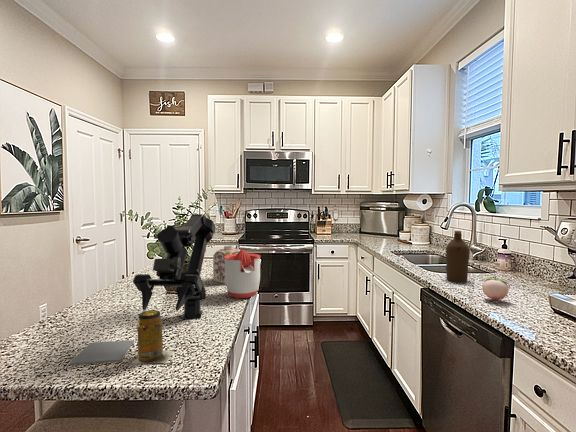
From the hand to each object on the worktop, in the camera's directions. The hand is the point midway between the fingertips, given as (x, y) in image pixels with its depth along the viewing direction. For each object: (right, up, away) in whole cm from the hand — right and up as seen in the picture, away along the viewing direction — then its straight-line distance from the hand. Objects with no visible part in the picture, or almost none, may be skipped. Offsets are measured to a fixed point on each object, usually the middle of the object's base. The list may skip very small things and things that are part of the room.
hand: (160, 310), depth 93 cm
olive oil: (+121, -7, +78) cm, 144 cm away
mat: (-15, -11, -1) cm, 19 cm away
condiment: (0, -12, -4) cm, 12 cm away
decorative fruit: (+119, -9, +43) cm, 127 cm away
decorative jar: (+6, -7, +78) cm, 78 cm away
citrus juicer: (+16, -9, +52) cm, 55 cm away
